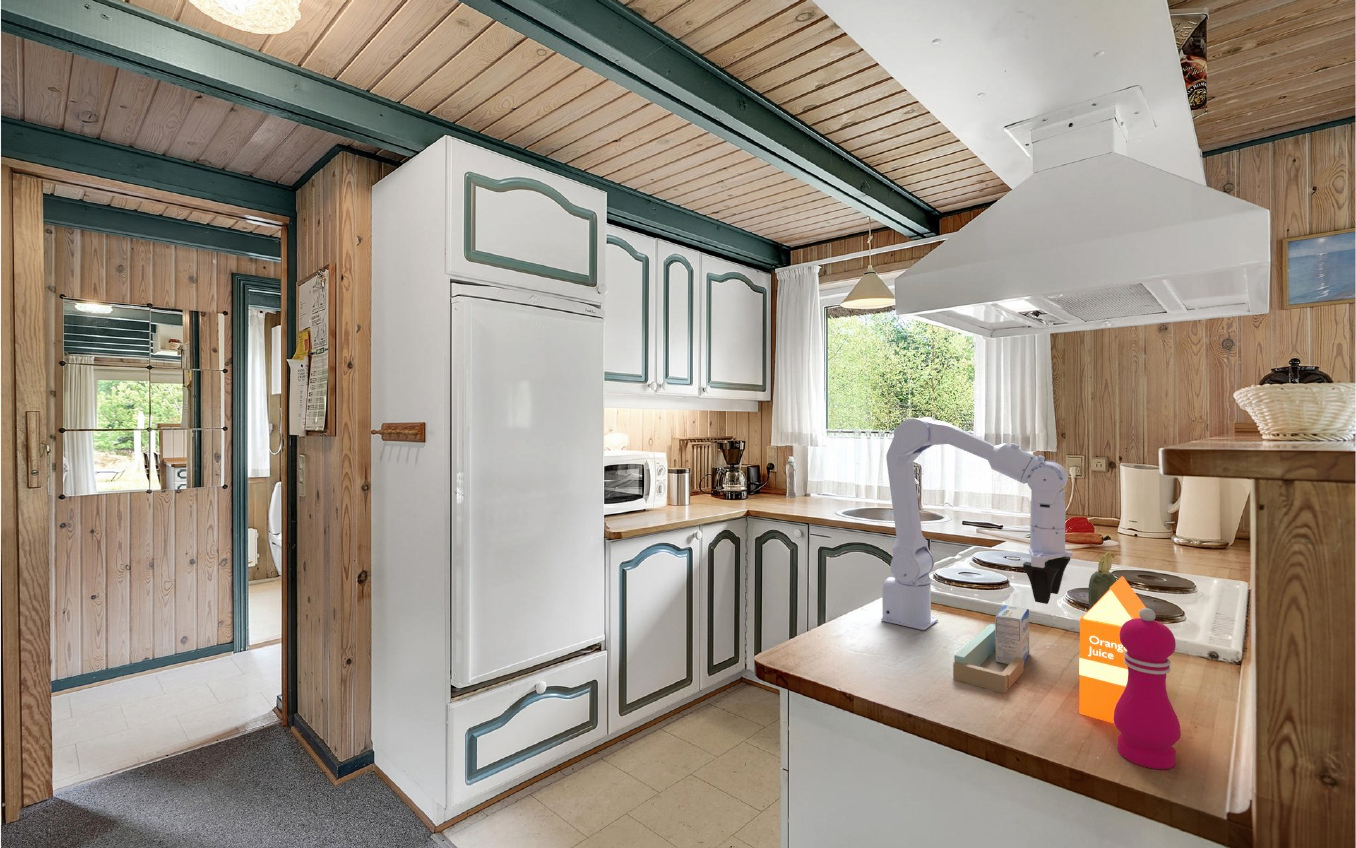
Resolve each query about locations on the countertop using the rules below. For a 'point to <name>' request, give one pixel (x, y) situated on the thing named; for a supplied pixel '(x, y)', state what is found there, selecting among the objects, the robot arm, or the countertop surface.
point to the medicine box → (1011, 634)
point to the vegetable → (1101, 579)
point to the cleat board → (977, 654)
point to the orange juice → (1105, 651)
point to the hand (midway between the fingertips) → (1046, 597)
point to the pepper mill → (1147, 694)
